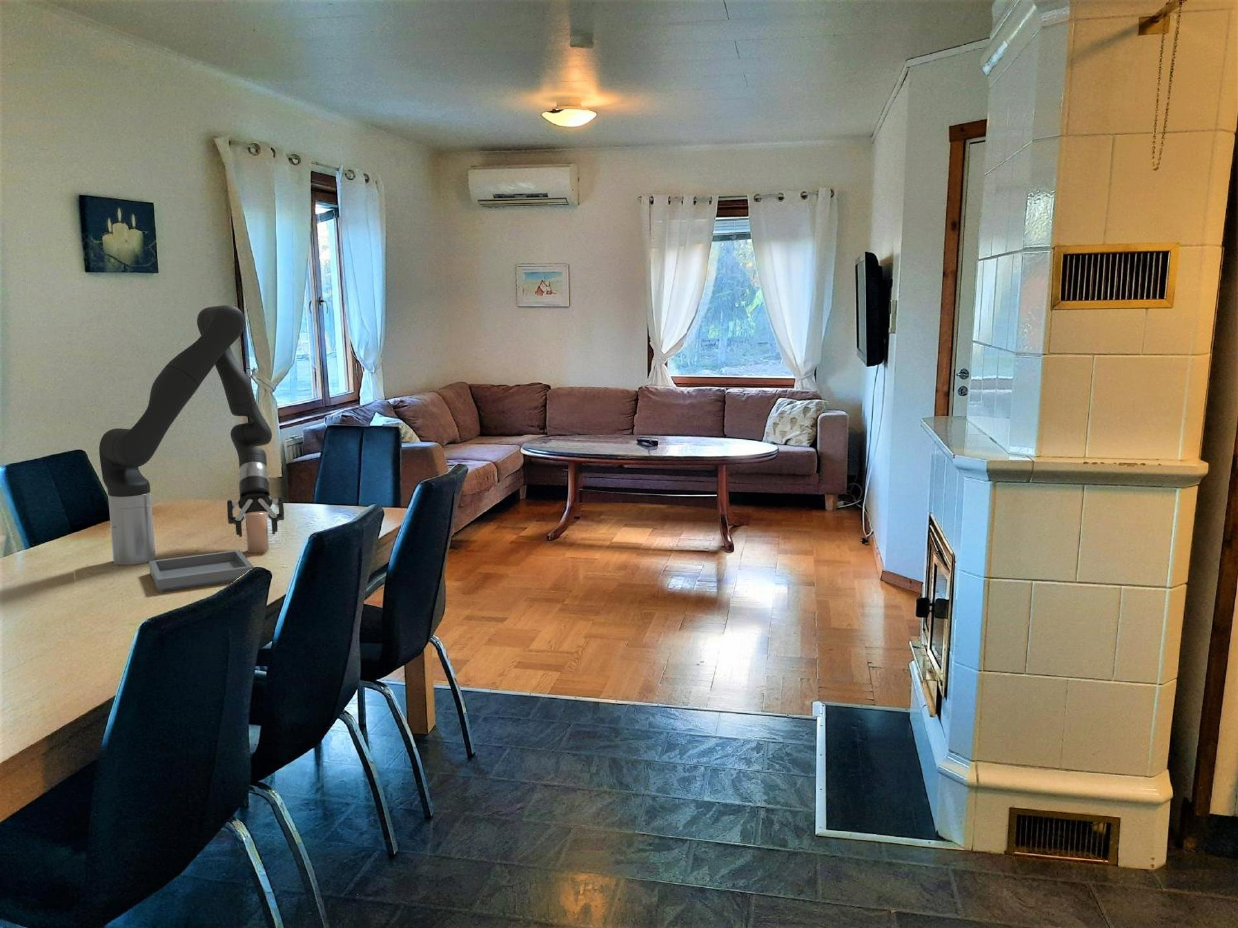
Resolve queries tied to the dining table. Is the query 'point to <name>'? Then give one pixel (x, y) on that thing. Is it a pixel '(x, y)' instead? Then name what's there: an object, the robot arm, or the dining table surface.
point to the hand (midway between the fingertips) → (257, 533)
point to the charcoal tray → (198, 570)
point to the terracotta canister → (257, 531)
